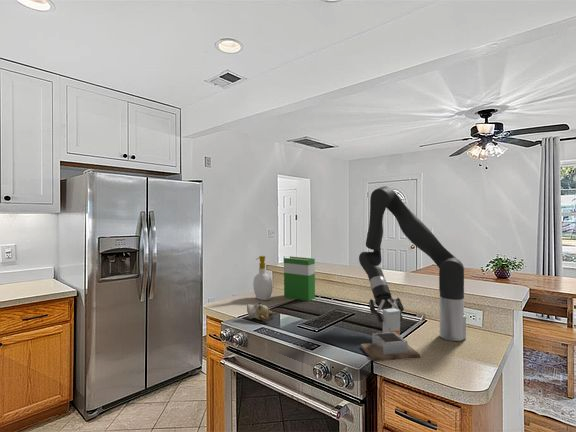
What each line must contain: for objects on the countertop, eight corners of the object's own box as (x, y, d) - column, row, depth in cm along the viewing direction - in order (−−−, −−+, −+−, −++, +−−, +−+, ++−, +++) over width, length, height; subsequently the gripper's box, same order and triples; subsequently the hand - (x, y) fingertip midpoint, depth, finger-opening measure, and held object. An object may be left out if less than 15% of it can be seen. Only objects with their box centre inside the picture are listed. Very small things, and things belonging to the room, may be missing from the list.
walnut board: (403, 343, 141) (403, 340, 141) (420, 357, 128) (420, 354, 128) (360, 346, 138) (360, 344, 138) (373, 361, 125) (373, 358, 125)
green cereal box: (284, 296, 215) (283, 258, 214) (291, 294, 221) (290, 256, 220) (308, 301, 205) (308, 260, 204) (315, 298, 211) (314, 258, 210)
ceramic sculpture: (251, 297, 180) (278, 301, 176) (250, 314, 181) (278, 318, 176) (242, 303, 170) (271, 308, 165) (242, 321, 171) (270, 326, 166)
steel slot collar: (394, 342, 139) (394, 331, 139) (407, 353, 129) (407, 341, 129) (372, 344, 138) (372, 333, 137) (383, 355, 127) (383, 343, 127)
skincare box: (387, 340, 144) (387, 312, 144) (382, 336, 148) (382, 309, 148) (400, 339, 146) (400, 310, 145) (394, 335, 150) (394, 307, 150)
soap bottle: (248, 298, 212) (248, 255, 211) (259, 295, 218) (259, 254, 217) (265, 302, 202) (264, 258, 201) (276, 299, 208) (275, 256, 207)
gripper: (367, 284, 154) (377, 318, 143) (397, 283, 156) (410, 316, 145) (362, 293, 160) (372, 326, 149) (392, 292, 162) (404, 324, 151)
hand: (391, 321), depth 147 cm, fingers open, 8 cm apart
